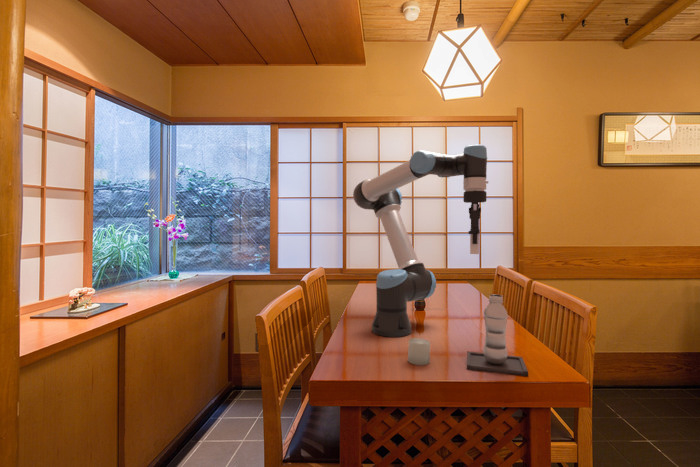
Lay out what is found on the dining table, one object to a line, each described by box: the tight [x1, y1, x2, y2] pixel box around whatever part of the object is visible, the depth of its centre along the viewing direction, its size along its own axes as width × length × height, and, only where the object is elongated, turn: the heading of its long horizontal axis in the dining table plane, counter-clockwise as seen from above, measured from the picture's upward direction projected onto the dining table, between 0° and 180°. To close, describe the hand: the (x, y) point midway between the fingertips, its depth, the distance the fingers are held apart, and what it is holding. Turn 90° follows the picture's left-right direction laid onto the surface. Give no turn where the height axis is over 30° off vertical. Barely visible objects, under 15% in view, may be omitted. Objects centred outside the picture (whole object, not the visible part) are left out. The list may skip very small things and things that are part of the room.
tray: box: [466, 351, 529, 377], centre depth 110 cm, size 16×12×1 cm
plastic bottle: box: [482, 293, 509, 364], centre depth 110 cm, size 6×7×20 cm
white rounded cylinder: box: [407, 337, 431, 366], centre depth 113 cm, size 6×6×6 cm
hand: (474, 252), depth 129 cm, fingers open, 13 cm apart
